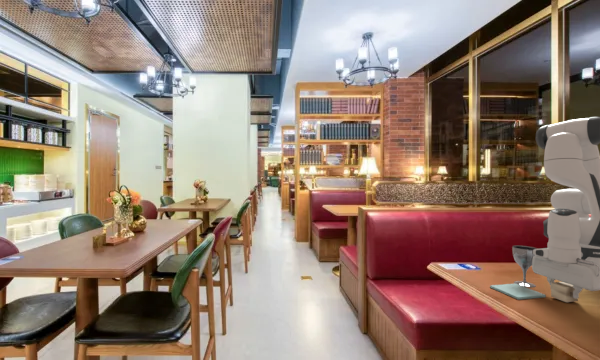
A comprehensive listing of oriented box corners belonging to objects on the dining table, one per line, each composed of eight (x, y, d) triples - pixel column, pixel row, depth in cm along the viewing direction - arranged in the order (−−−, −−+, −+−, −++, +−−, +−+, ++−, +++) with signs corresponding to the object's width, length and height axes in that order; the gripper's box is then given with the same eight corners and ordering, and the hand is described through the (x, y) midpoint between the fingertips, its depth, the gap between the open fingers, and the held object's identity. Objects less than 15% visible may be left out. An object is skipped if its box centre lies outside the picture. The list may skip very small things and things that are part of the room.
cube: (562, 295, 105) (562, 281, 105) (577, 301, 100) (577, 286, 100) (551, 296, 104) (550, 282, 104) (566, 302, 99) (566, 287, 99)
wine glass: (529, 288, 113) (529, 250, 113) (508, 282, 120) (508, 246, 120) (541, 286, 116) (541, 248, 116) (519, 279, 124) (519, 244, 124)
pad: (515, 285, 117) (515, 283, 117) (545, 297, 105) (545, 294, 105) (490, 287, 115) (490, 285, 115) (518, 299, 103) (518, 297, 103)
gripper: (607, 262, 93) (607, 305, 93) (542, 248, 113) (542, 283, 113) (591, 264, 91) (591, 307, 91) (528, 249, 112) (529, 284, 112)
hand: (564, 294), depth 102 cm, fingers closed on cube, 5 cm apart
